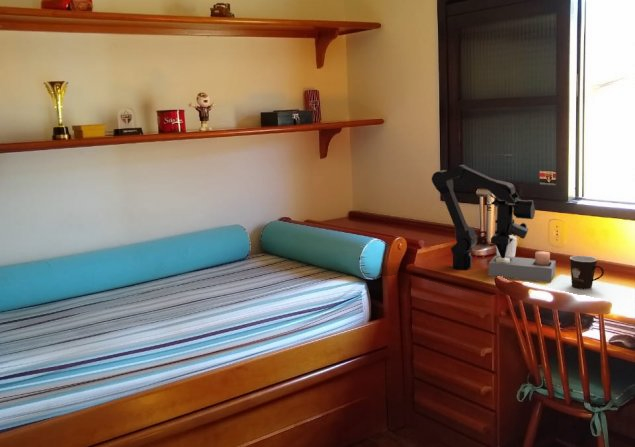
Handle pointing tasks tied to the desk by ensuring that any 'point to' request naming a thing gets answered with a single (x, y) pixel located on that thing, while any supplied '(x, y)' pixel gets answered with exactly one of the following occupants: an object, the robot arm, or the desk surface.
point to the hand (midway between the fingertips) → (503, 257)
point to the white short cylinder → (503, 259)
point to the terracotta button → (542, 258)
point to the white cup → (510, 248)
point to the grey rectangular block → (522, 269)
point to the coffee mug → (583, 271)
